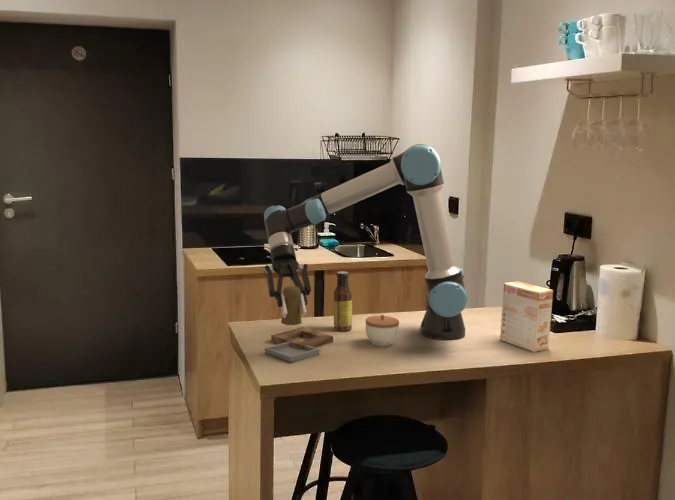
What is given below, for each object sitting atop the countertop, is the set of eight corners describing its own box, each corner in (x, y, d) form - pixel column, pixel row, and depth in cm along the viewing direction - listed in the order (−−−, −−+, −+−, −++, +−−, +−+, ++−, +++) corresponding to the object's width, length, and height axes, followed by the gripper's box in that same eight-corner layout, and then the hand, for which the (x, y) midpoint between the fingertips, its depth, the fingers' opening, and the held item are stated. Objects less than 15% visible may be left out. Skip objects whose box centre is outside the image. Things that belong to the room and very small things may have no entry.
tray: (319, 354, 214) (319, 349, 214) (291, 363, 206) (291, 357, 205) (292, 345, 222) (292, 340, 222) (264, 353, 214) (264, 348, 213)
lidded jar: (357, 342, 227) (358, 314, 225) (379, 336, 235) (380, 308, 233) (383, 350, 220) (384, 321, 218) (404, 343, 228) (406, 315, 226)
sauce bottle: (355, 329, 242) (357, 272, 239) (345, 333, 237) (347, 275, 234) (339, 325, 246) (340, 269, 242) (329, 329, 241) (330, 272, 237)
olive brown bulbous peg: (298, 326, 209) (299, 289, 207) (278, 324, 210) (279, 288, 208) (303, 320, 215) (304, 285, 213) (284, 318, 216) (285, 283, 214)
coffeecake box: (549, 349, 226) (554, 289, 223) (533, 352, 222) (538, 292, 219) (514, 337, 239) (518, 280, 235) (499, 339, 235) (503, 282, 231)
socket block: (333, 342, 227) (333, 336, 227) (301, 351, 217) (301, 345, 216) (302, 332, 236) (302, 327, 236) (271, 341, 226) (271, 335, 226)
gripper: (307, 256, 226) (321, 319, 214) (251, 257, 221) (262, 323, 208) (312, 242, 221) (327, 307, 208) (255, 243, 215) (266, 310, 202)
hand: (294, 314), depth 208 cm, fingers closed on olive brown bulbous peg, 5 cm apart
